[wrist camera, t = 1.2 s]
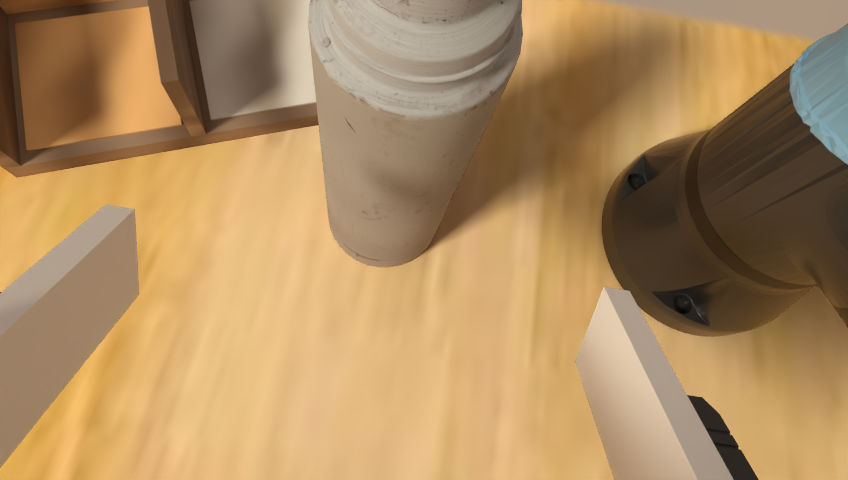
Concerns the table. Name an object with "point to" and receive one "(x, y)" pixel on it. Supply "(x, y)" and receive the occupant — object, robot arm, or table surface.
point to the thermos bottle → (404, 111)
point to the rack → (147, 77)
